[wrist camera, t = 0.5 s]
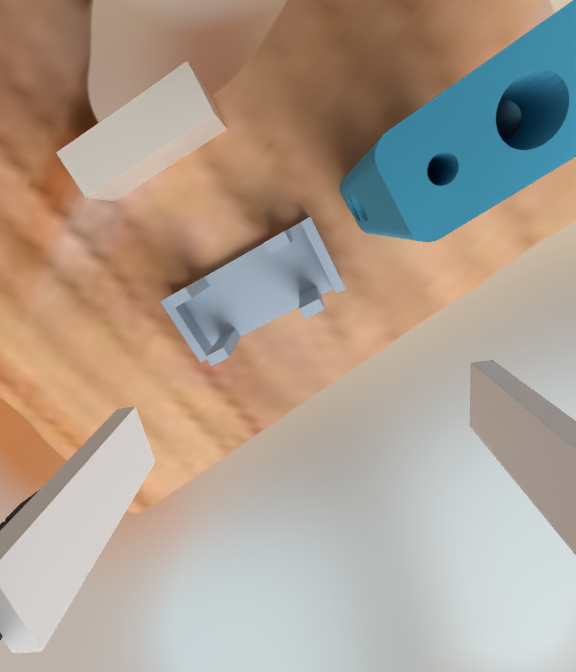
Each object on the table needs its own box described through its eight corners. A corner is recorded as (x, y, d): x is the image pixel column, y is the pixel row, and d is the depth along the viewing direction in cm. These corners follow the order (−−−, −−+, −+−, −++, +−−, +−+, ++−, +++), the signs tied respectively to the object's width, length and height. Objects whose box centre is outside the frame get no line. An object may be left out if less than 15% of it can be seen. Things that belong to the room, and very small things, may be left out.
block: (354, 235, 34) (419, 251, 15) (329, 190, 33) (365, 146, 14) (465, 163, 31) (715, 72, 12) (443, 112, 30) (682, -77, 11)
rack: (209, 350, 39) (189, 377, 32) (172, 294, 37) (144, 310, 30) (341, 282, 35) (350, 296, 29) (309, 217, 33) (311, 215, 27)
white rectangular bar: (115, 201, 34) (85, 197, 29) (91, 162, 33) (56, 152, 28) (227, 130, 31) (214, 113, 27) (205, 86, 30) (187, 60, 26)
